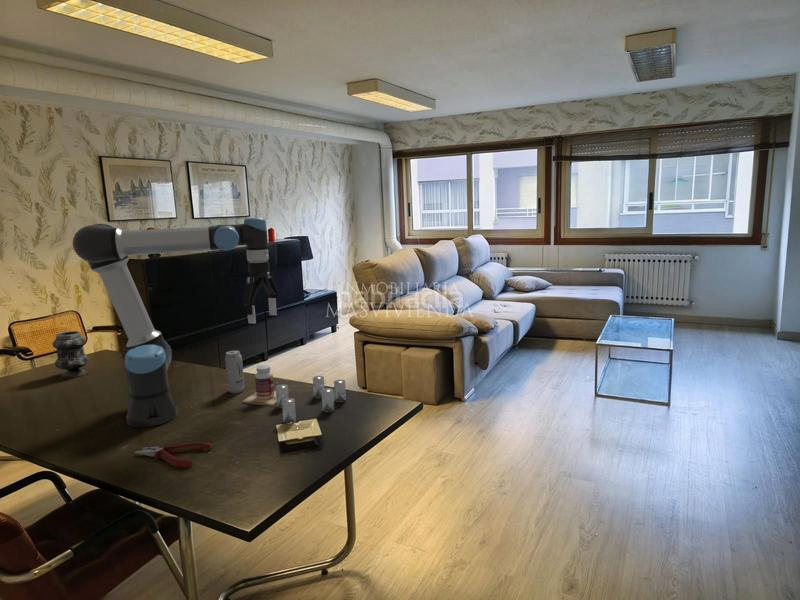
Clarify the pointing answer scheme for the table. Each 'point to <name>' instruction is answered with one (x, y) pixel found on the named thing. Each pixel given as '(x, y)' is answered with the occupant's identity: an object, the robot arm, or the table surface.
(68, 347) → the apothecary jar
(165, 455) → the pliers
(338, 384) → the grey cylinder
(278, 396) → the cylinder
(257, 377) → the pill bottle
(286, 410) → the spacer near
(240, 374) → the energy drink can
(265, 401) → the coaster
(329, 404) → the cylinder
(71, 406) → the table surface
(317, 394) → the cylinder
